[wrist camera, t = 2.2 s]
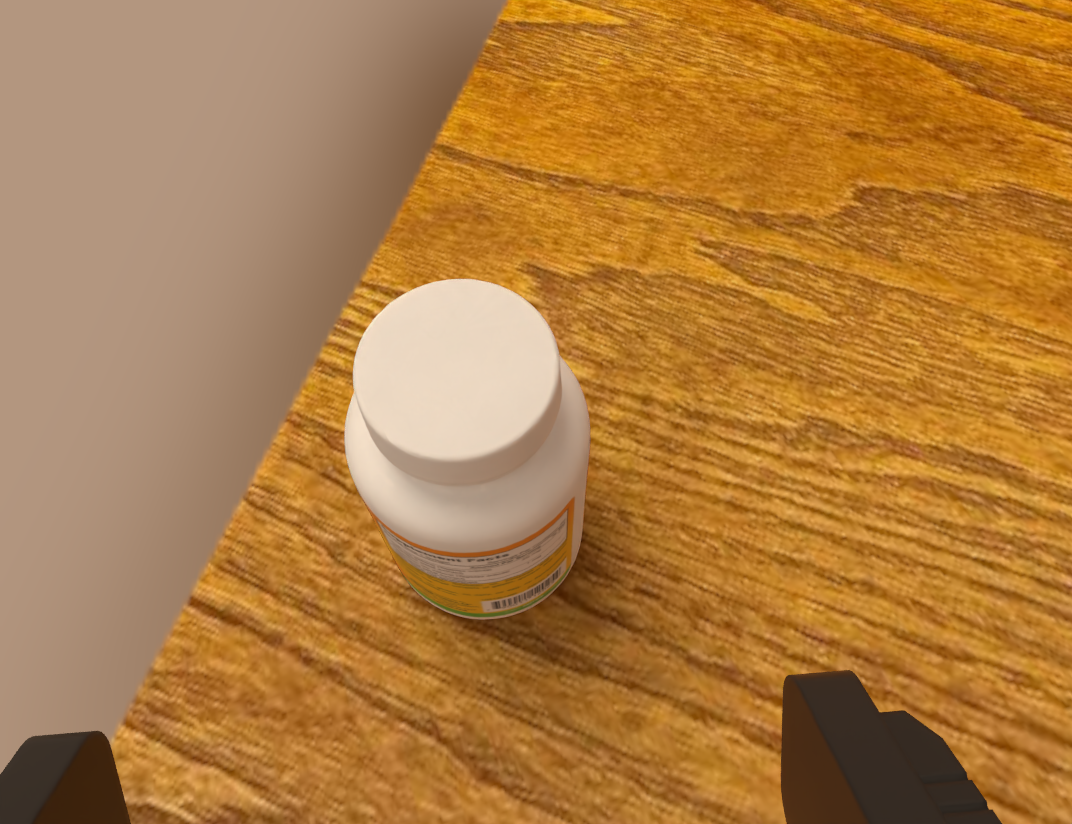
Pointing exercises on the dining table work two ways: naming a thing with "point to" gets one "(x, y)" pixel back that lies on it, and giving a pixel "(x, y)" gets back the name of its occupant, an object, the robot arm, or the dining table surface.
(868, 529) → the dining table surface
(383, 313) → the supplement bottle
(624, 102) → the dining table surface
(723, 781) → the dining table surface
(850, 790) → the robot arm
